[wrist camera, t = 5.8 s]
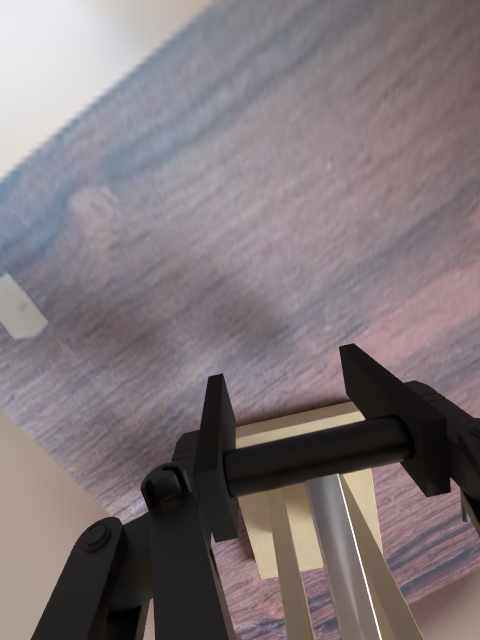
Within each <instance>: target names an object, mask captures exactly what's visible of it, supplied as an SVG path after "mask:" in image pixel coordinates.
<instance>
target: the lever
mask: <svg viewBox="0 0 480 640" xmlns="http://www.w3.org/2000/svg"><path fill="white" fill-rule="evenodd" d="M414 456H415V447H414V443H413V440H412V437H411V434H410V432H409V430H408V428H407V426H406V425H405V423H404V422H403V421H402V419H401V418H400V417H399V416H397V415H395V414H390V415H385V416H381V417H376V418H372V419H367V420H363V421H358V422H354V423H349V424H345V425H341V426H336V427H332V428H327V429H323V430H318V431H314V432H309V433H305V434H300V435H296V436H291V437H287V438H282V439H278V440H273V441H269V442H264V443H260V444H255V445H251V446H246V447H242V448H237V449H233V450H228V451H225V452H224V455H223V467H224V475H225V481H226V485H227V489H228V492H229V495H230V497H231V498H237V497H242V496H246V495H251V494H256V493H260V492H265V491H269V490H274V489H278V488H283V487H288V486H292V485H297V484H301V483H304V486H305V490H306V495H307V499H308V503H309V507H310V511H311V515H312V519H313V523H314V527H315V532H316V536H317V540H318V544H319V548H320V552H321V556H322V560H323V564H324V569H325V573H326V577H327V581H328V585H329V589H330V593H331V597H332V602H333V606H334V610H335V614H336V618H337V622H338V626H339V630H340V634H341V639H342V640H382V638H381V634H380V630H379V626H378V622H377V619H376V615H375V611H374V607H373V603H372V599H371V596H370V592H369V588H368V584H367V580H366V576H365V573H364V569H363V565H362V561H361V557H360V554H359V550H358V546H357V542H356V538H355V534H354V531H353V527H352V523H351V519H350V515H349V511H348V508H347V504H346V500H345V496H344V492H343V488H342V485H341V481H340V477H339V475H342V474H347V473H352V472H356V471H361V470H365V469H370V468H374V467H379V466H384V465H388V464H393V463H397V462H402V461H406V460H411V459H413V458H414Z"/></svg>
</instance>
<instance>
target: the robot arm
mask: <svg viewBox="0 0 480 640" xmlns="http://www.w3.org/2000/svg"><path fill="white" fill-rule="evenodd" d="M339 350H340V357H341V363H342V369H343V376H344V382H345V389H346V394H347V395H348V397H349V398H350V399H351V401H352V402H353V403H354V404H355V406H356V407H357V408H358V410H359V411H360V412H361V413H362V415H363V416H364V417H365V419H366V420H367V419H372V418H376V417H381V416H385V415H390V414H395V415H397V416H399V417H400V418H401V419H402V421H403V422H404V423H405V425H406V426H407V428H408V430H409V432H410V434H411V437H412V440H413V443H414V447H415V456H414V458H413V459H411V460H406V461H402V462H400V464H401V465H402V466H403V467H404V469H405V470H406V471H407V472H408V474H409V475H410V476H411V478H412V479H413V480H414V481H415V483H416V484H417V485H418V487H419V488H420V489H421V490H422V492H423V493H424V494H425V496H426V497H431V496H435V495H440V494H445V493H449V492H451V487H450V477H451V478H452V479H453V480H454V481H455V482H456V484H457V485H458V486H459V487H460V491H461V511H462V519H463V522H468V521H467V513H468V515H469V517H470V519H471V521H472V523H473V525H474V527H475V529H476V531H477V533H478V535H479V537H480V418H473V417H472V416H471V415H469V414H468V413H466V412H465V411H464V410H462V409H461V408H459V407H458V406H456V405H455V404H454V403H452V402H451V401H449V400H448V399H446V398H445V397H444V396H442V395H441V394H440V393H439V394H438V392H437V391H435V390H434V389H433V388H431V387H430V386H428V385H426V384H423V383H420V382H418V381H415V380H414V381H410V382H405V383H403V382H402V381H400V380H399V379H398V378H396V377H395V376H394V375H393V374H391V373H390V372H389V371H388V370H386V369H385V368H384V367H383V366H381V365H380V364H379V363H378V362H376V361H375V360H374V359H373V358H371V357H370V356H369V355H368V354H366V353H365V352H364V351H363V350H361V349H360V348H359V347H358V346H356V345H355V344H354V343H353V344H348V345H344V346H340V347H339ZM233 449H236V430H235V416H234V413H233V409H232V405H231V402H230V398H229V394H228V391H227V387H226V383H225V380H224V376H223V374H218V375H214V376H210V377H208V383H207V389H206V395H205V401H204V407H203V413H202V419H201V425H200V430H197V431H192V432H188V433H184V434H183V435H182V436H181V438H180V439H179V440H178V442H177V443H176V447H175V451H174V454H173V458H172V462H169V463H166V464H163V465H160V466H159V467H157V468H155V469H153V470H152V471H151V472H150V473H149V474H148V475H147V476H146V477H145V479H144V480H143V482H142V485H141V492H142V494H143V497H144V500H145V502H146V505H147V507H148V510H149V511H148V512H147V513H146V514H144V515H142V516H141V517H139V518H137V519H135V520H133V521H131V522H129V523H127V524H125V525H122V523H121V521H120V519H118V518H116V517H107V518H104V519H102V520H99V521H97V522H95V523H94V524H93V525H91V526H90V527H88V528H87V529H86V530H85V531H84V532H83V533H82V534H81V536H80V537H79V538H78V540H77V542H76V543H75V545H74V547H73V549H72V551H71V553H70V556H69V558H68V560H67V562H66V564H65V566H64V569H63V571H62V574H61V575H60V577H59V579H58V582H57V584H56V586H55V588H54V590H53V592H52V595H51V597H50V599H49V602H48V603H47V606H46V608H45V610H44V612H43V614H42V617H41V619H40V621H39V623H38V625H37V627H36V630H35V632H34V634H33V636H32V638H31V640H143V637H144V631H145V625H146V619H147V614H148V608H149V602H150V599H152V598H153V601H154V622H155V640H236V636H235V633H234V629H233V625H232V621H231V618H230V614H229V610H228V606H227V602H226V599H225V595H224V591H223V587H222V584H221V580H220V576H219V572H218V569H217V565H216V561H215V557H214V554H213V551H212V548H211V532H212V534H213V537H214V540H215V543H217V542H221V541H226V540H230V539H235V538H239V535H238V500H237V498H231V497H230V495H229V492H228V489H227V485H226V481H225V475H224V467H223V455H224V452H225V451H228V450H233Z"/></svg>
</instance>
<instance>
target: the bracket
mask: <svg viewBox="0 0 480 640" xmlns="http://www.w3.org/2000/svg"><path fill="white" fill-rule="evenodd" d="M363 420H364V417H363V415H362V413H361V412H360V411H359V410H358V408H357V407H356V406H355V404H354V403H353V402H352V401H350V402H346V403H341V404H337V405H332V406H328V407H323V408H319V409H315V410H310V411H306V412H301V413H297V414H292V415H288V416H283V417H279V418H275V419H270V420H266V421H261V422H257V423H252V424H248V425H243V426H239V427H235V430H236V449H237V448H242V447H246V446H251V445H255V444H260V443H264V442H269V441H273V440H278V439H282V438H287V437H291V436H296V435H300V434H305V433H309V432H314V431H318V430H323V429H327V428H332V427H336V426H341V425H345V424H349V423H354V422H358V421H363ZM339 477H340V481H341V485H342V488H343V492H344V496H345V500H346V504H347V508H348V511H349V515H350V519H351V523H352V527H353V531H354V534H355V538H356V542H357V546H358V550H359V554H360V557H361V561H362V565H363V569H364V573H365V576H366V580H367V584H368V588H369V592H370V596H371V599H372V603H373V607H374V611H375V615H376V619H377V622H378V626H379V630H380V634H381V638H382V640H424V638H423V636H422V634H421V632H420V630H419V628H418V626H417V624H416V622H415V620H414V617H413V615H412V613H411V612H410V610H409V607H408V605H407V603H406V601H405V599H404V597H403V595H402V593H401V591H400V589H399V587H398V585H397V583H396V581H395V579H394V577H393V575H392V573H391V571H390V569H389V567H388V565H387V563H386V561H385V559H384V557H383V555H382V554H383V551H382V544H381V536H380V529H379V522H378V515H377V508H376V501H375V494H374V487H373V480H372V473H371V468H370V469H365V470H361V471H356V472H352V473H347V474H342V475H339ZM237 498H238V502H239V505H240V508H241V512H242V515H243V519H244V522H245V526H246V529H247V533H248V536H249V540H250V543H251V546H252V550H253V553H254V557H255V560H256V564H257V567H258V571H259V574H260V578H261V580H263V579H268V578H273V577H277V576H278V577H279V584H280V590H281V597H282V604H283V611H284V618H285V625H286V631H287V638H288V640H315V636H314V631H313V627H312V622H311V617H310V613H309V608H308V604H307V599H306V594H305V590H304V585H303V580H302V576H301V571H306V570H310V569H315V568H320V567H324V564H323V560H322V556H321V552H320V548H319V544H318V540H317V536H316V532H315V527H314V523H313V519H312V515H311V511H310V507H309V503H308V499H307V495H306V490H305V486H304V483H301V484H297V485H292V486H288V487H283V488H278V489H274V490H269V491H265V492H260V493H256V494H251V495H246V496H242V497H237Z"/></svg>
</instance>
